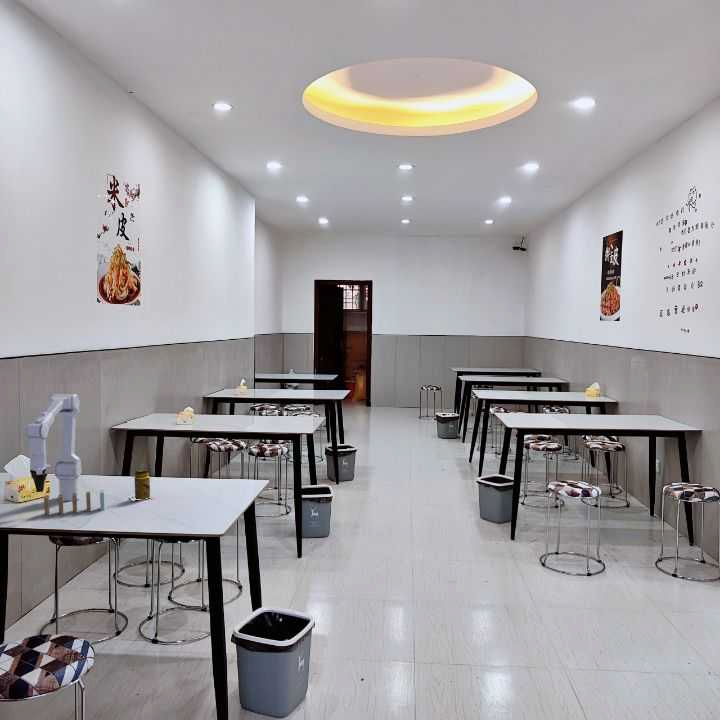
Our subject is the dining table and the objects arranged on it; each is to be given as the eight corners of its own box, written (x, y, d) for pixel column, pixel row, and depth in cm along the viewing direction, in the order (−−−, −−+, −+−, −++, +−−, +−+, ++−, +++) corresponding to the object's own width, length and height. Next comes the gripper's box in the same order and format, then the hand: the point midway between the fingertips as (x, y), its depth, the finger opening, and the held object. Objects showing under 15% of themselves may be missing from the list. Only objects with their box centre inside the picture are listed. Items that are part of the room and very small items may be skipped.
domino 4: (86, 509, 280) (86, 491, 279) (90, 508, 280) (90, 491, 280) (86, 512, 276) (86, 494, 275) (90, 511, 276) (89, 494, 276)
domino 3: (73, 510, 278) (72, 493, 278) (77, 510, 279) (76, 492, 278) (72, 513, 274) (72, 495, 274) (76, 513, 274) (76, 495, 274)
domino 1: (45, 513, 275) (44, 495, 274) (49, 512, 275) (48, 495, 275) (44, 516, 271) (43, 498, 270) (48, 515, 271) (47, 497, 271)
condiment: (153, 498, 294) (152, 470, 294) (132, 502, 290) (131, 473, 289) (147, 495, 301) (147, 467, 300) (127, 498, 296) (126, 470, 295)
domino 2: (59, 511, 276) (58, 494, 276) (63, 511, 277) (62, 493, 276) (58, 514, 272) (58, 496, 272) (62, 514, 273) (62, 496, 272)
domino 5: (100, 507, 282) (99, 490, 281) (104, 507, 282) (103, 490, 282) (100, 510, 277) (99, 493, 277) (104, 510, 278) (103, 492, 277)
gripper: (50, 456, 266) (52, 492, 267) (48, 450, 279) (49, 484, 280) (29, 458, 263) (31, 494, 263) (28, 452, 276) (29, 486, 276)
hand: (39, 489), depth 271 cm, fingers open, 7 cm apart
